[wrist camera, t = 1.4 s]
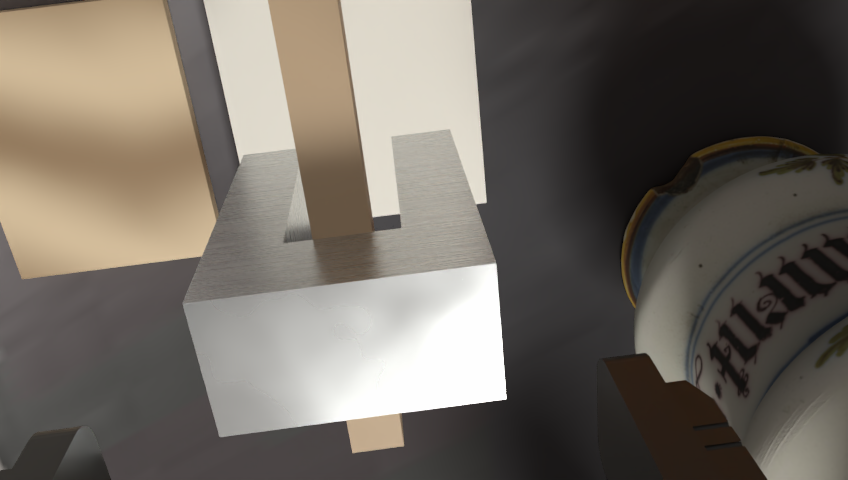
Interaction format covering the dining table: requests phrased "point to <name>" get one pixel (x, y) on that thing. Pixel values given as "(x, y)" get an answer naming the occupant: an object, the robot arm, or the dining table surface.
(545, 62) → the dining table surface
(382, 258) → the c link
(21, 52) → the cork mat
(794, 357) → the apothecary jar
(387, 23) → the stand
